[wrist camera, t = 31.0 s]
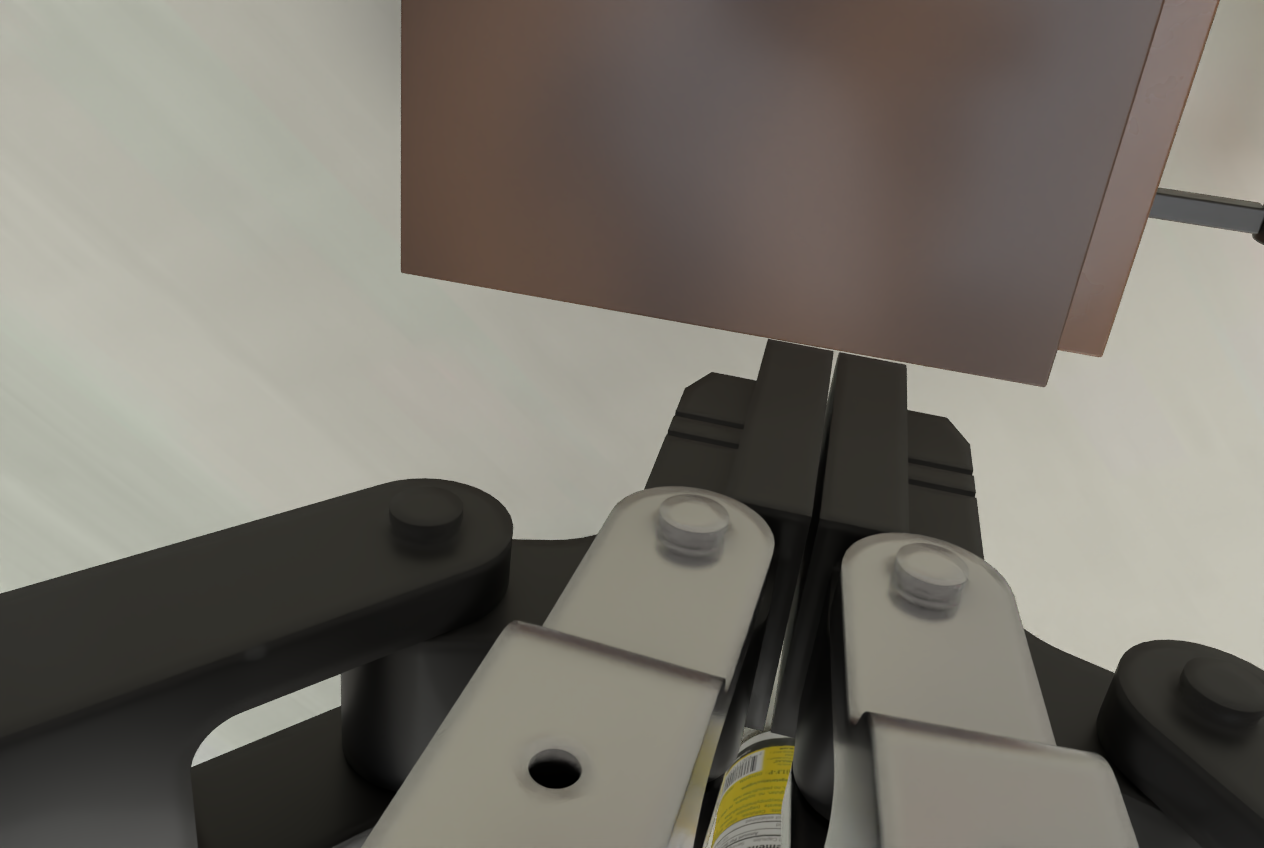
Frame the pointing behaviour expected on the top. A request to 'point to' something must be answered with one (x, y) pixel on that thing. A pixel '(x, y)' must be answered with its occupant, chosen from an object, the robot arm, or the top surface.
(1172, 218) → the drawer
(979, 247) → the cabinet
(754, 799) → the supplement bottle
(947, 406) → the top surface
